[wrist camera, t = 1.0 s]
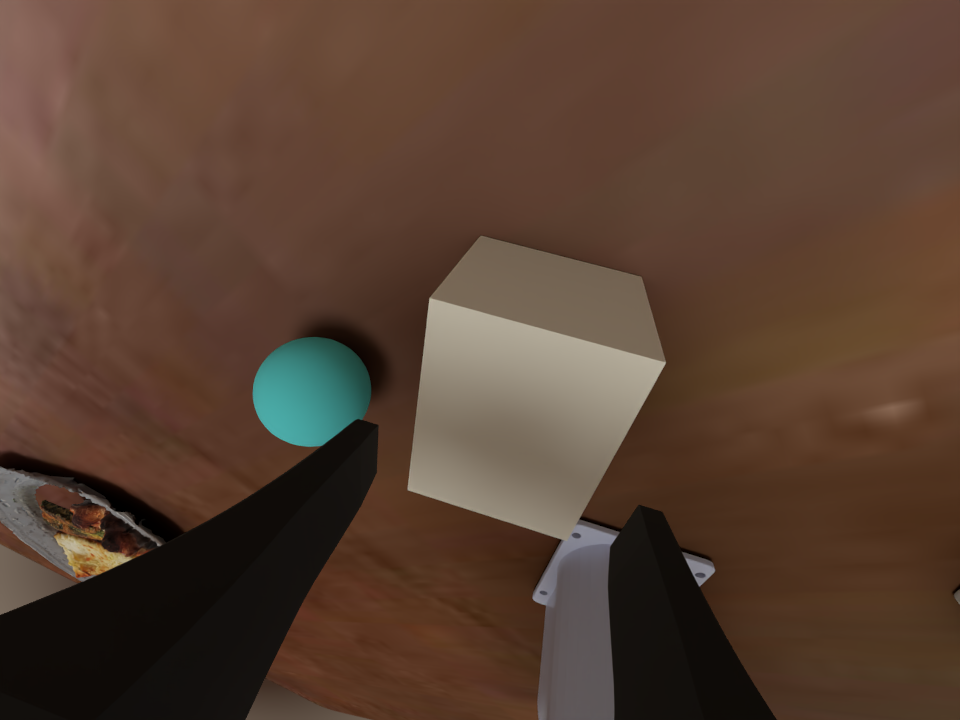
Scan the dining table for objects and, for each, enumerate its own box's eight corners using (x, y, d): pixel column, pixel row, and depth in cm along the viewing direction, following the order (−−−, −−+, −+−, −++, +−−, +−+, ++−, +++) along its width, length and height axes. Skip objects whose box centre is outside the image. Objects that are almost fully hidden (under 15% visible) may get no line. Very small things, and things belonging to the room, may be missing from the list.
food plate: (187, 501, 33) (147, 540, 30) (251, 623, 46) (228, 658, 43) (-42, 425, 37) (-97, 452, 34) (78, 558, 50) (47, 585, 47)
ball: (386, 411, 22) (338, 483, 18) (301, 385, 22) (236, 450, 18) (390, 334, 19) (334, 399, 15) (293, 306, 19) (213, 362, 15)
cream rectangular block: (572, 431, 19) (567, 541, 15) (451, 395, 20) (407, 489, 15) (641, 276, 15) (666, 362, 10) (480, 235, 15) (429, 298, 10)
